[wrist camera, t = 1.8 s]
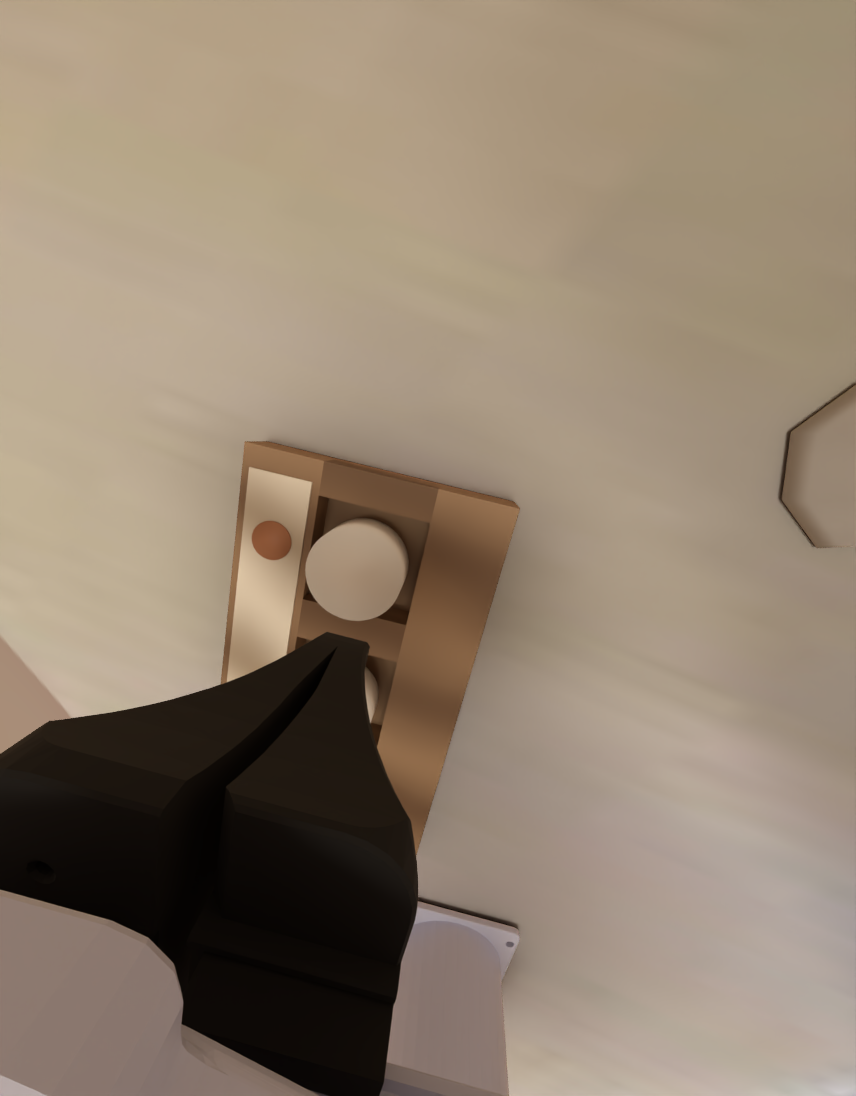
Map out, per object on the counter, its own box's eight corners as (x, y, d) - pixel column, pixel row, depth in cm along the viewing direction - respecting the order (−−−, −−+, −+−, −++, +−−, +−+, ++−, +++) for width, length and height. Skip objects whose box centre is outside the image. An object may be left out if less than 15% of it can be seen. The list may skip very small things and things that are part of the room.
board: (412, 846, 25) (407, 884, 23) (226, 796, 25) (204, 829, 23) (514, 501, 19) (520, 509, 17) (267, 441, 19) (242, 441, 17)
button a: (398, 611, 19) (391, 630, 17) (316, 590, 19) (299, 607, 17) (417, 530, 18) (411, 541, 16) (329, 508, 18) (312, 517, 16)
